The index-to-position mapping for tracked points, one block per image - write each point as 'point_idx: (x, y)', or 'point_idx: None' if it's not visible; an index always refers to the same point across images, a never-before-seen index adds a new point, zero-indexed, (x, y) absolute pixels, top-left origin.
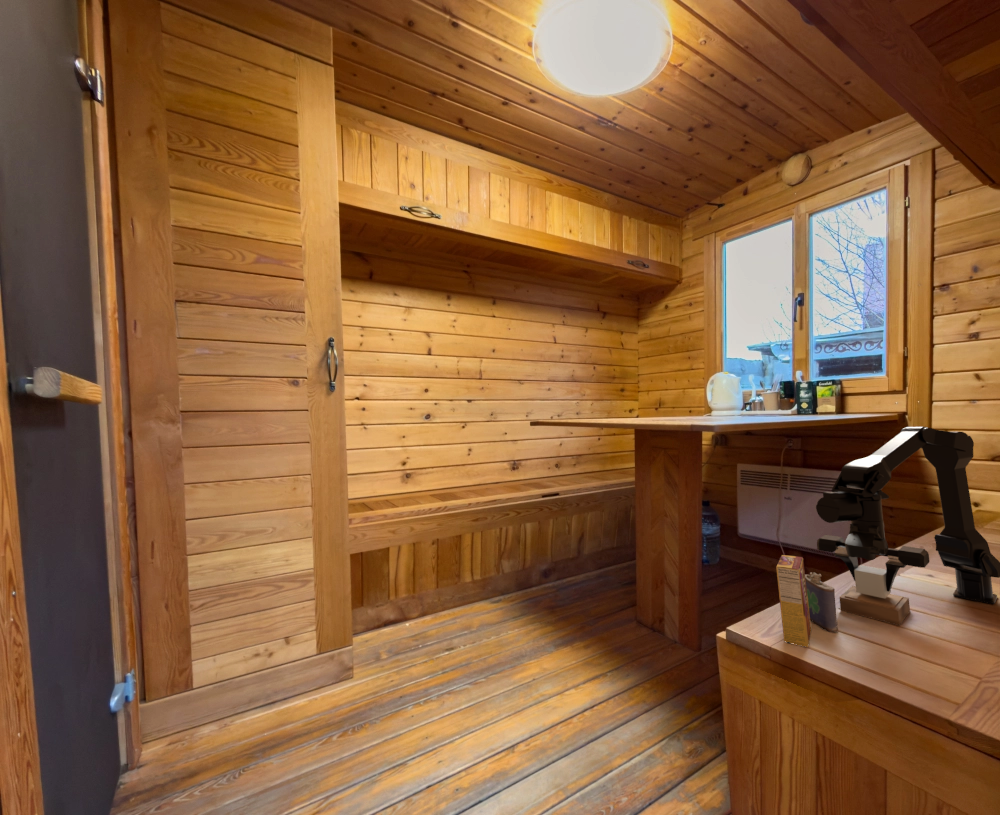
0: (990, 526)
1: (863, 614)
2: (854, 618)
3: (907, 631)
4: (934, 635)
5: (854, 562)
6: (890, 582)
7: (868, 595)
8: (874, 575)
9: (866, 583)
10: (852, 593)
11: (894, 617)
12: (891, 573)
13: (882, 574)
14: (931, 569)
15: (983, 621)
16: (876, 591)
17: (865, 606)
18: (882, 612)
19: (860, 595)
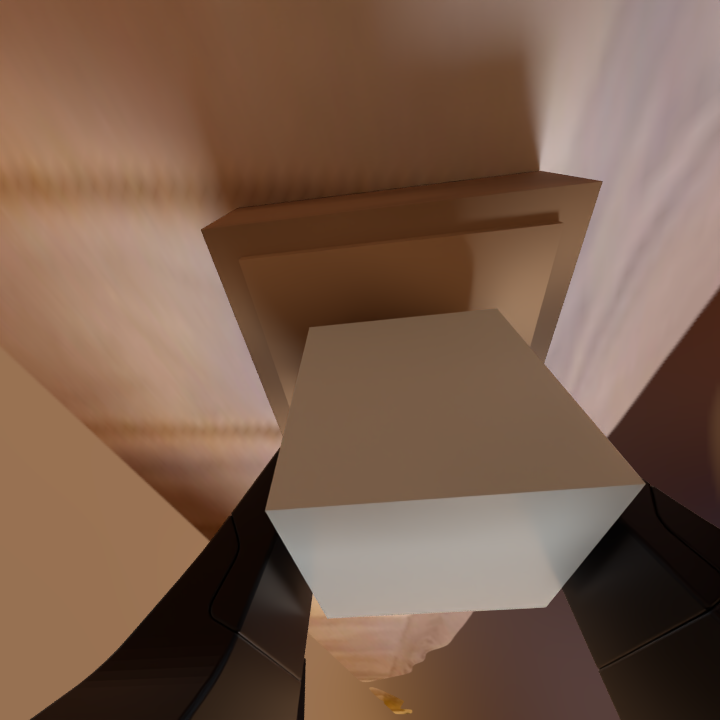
0: (378, 697)
1: (413, 188)
2: (447, 79)
3: (165, 143)
4: (84, 214)
5: (662, 642)
6: (269, 472)
7: None
8: (368, 479)
9: (442, 376)
10: (513, 327)
11: (244, 215)
12: (199, 586)
13: (293, 534)
14: (381, 617)
15: (155, 474)
16: (360, 346)
17: (406, 199)
18: (304, 208)
19: None
